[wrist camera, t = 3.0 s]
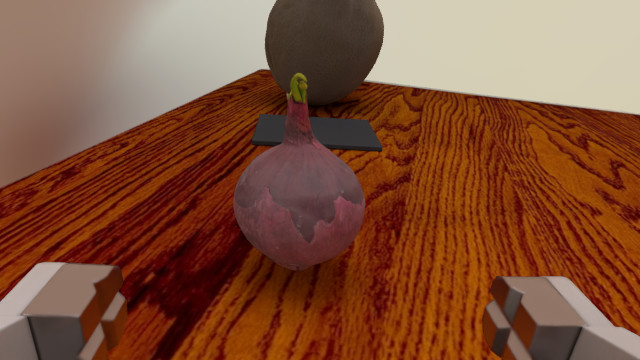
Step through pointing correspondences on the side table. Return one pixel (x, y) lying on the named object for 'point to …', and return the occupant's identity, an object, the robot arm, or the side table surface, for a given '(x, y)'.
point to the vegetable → (299, 195)
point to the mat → (320, 132)
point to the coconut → (323, 45)
